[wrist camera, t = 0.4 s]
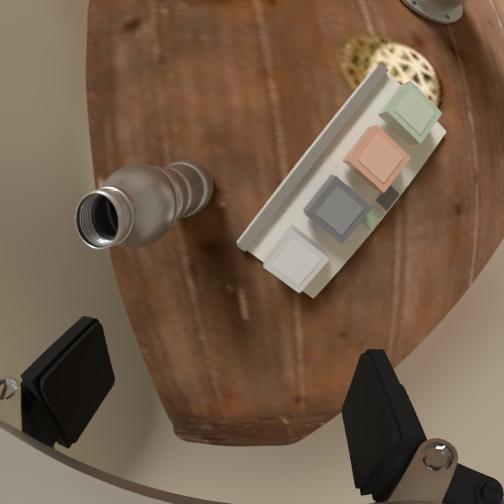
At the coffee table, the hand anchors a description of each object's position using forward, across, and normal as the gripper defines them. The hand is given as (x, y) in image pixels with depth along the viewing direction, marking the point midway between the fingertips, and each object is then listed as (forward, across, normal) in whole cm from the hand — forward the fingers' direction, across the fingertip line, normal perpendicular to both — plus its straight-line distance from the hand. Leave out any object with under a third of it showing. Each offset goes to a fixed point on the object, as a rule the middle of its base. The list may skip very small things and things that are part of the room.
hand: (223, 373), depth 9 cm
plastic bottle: (+27, +9, -4) cm, 29 cm away
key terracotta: (+24, -12, -9) cm, 28 cm away
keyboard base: (+27, -10, -6) cm, 29 cm away
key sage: (+24, -15, -15) cm, 32 cm away
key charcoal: (+24, -8, -3) cm, 26 cm away
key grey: (+24, -4, +3) cm, 25 cm away
